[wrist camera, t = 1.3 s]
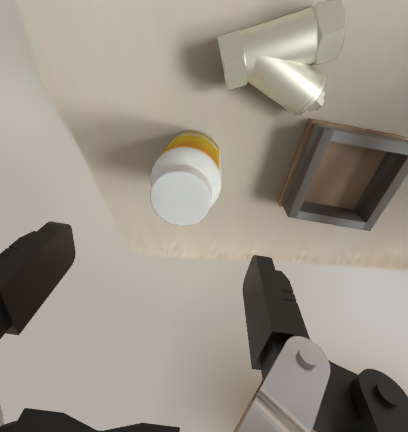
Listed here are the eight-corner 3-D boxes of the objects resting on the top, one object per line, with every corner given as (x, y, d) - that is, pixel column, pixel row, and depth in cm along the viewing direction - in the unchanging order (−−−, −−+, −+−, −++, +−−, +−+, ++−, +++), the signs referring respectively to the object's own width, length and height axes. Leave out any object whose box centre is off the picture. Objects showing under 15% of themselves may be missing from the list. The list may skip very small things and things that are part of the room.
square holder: (401, 135, 21) (428, 145, 18) (354, 215, 26) (370, 232, 23) (309, 118, 21) (323, 125, 18) (278, 202, 25) (285, 218, 23)
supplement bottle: (224, 177, 24) (227, 230, 16) (174, 185, 25) (153, 239, 17) (216, 123, 22) (214, 153, 13) (160, 134, 22) (127, 169, 14)
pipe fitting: (321, 101, 21) (324, 3, 17) (341, 111, 18) (349, -8, 14) (232, 124, 22) (217, 38, 18) (235, 137, 19) (217, 36, 15)
